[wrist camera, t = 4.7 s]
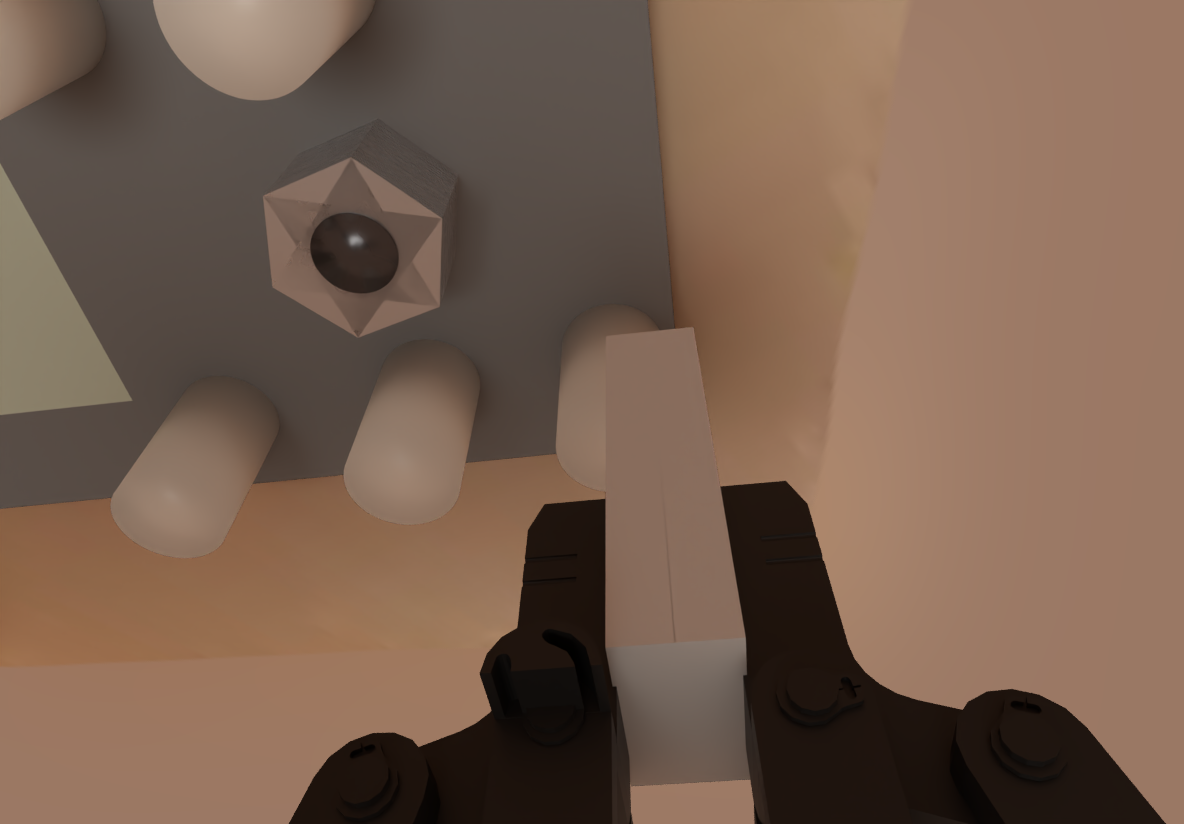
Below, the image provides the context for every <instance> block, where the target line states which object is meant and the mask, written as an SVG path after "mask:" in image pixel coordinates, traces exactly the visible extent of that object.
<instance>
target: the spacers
mask: <svg viewBox="0 0 1184 824" xmlns="http://www.w3.org/2000/svg"><path fill="white" fill-rule="evenodd" d="M375 1H376V0H153V4H154V9H155V13H156V17H157V20H158V23H159V25H160V28H161V30H162V32H163V34H164V37H165V39H166V40H167V42H168V44H169V45H170V47H171V49H172V50H173V51H174V53H175V54H176V55H177V57H178V58H179V59H180V61H181V62H182V63H183V64H184V65H185V66H186V67H187V68H188V69H189V70H190V71H191V72H192V73H193V74H194V75H196V76H197V77H198V78H199V79H201V80H202V81H203V82H205V83H206V84H208V85H209V86H211V87H213V88H215V89H216V90H218V91H221V92H223V93H225V94H227V95H230V96H233V97H237V98H241V99H246V100H257V101H260V100H270V99H275V98H279V97H282V96H284V95H287V94H289V93H291V92H292V91H294V90H296V89H297V88H298V87H299V86H301V85H302V84H303V83H304V82H305V81H306V80H307V79H308V78H309V77H310V76H311V75H312V74H314V73H315V72H316V71H317V70H318V69H319V68H320V67H321V66H322V65H323V64H324V63H325V62H326V61H327V60H328V59H329V58H330V57H331V56H332V55H333V54H334V53H335V52H336V51H337V50H338V49H339V48H341V47H342V46H343V45H344V44H345V43H346V42H347V41H348V40H349V39H350V38H351V37H352V36H353V35H354V34H355V33H356V32H357V31H358V30H359V29H360V28H361V27H362V26H363V25H364V24H365V22H366V21H367V19H368V18H369V16H370V14H371V12H372V10H373V7H374V4H375ZM105 43H106V28H105V21H104V17H103V13H102V11H101V8H100V5H99V3H98V1H97V0H0V120H1V119H3V118H5V117H7V116H9V115H11V114H13V113H15V112H16V111H18V110H20V109H22V108H24V107H26V106H28V105H30V104H31V103H33V102H35V101H37V100H39V99H41V98H43V97H44V96H46V95H48V94H50V93H52V92H54V91H56V90H58V89H59V88H61V87H63V86H65V85H67V84H69V83H71V82H73V81H74V80H76V79H78V78H80V77H82V76H84V75H85V74H87V73H89V72H90V71H91V70H92V69H93V68H94V67H95V66H96V65H97V64H98V62H99V61H100V59H101V57H102V55H103V52H104V49H105ZM649 331H659V329H658V327H657V325H656V324H655V323H654V321H653V320H652V319H651V318H650V317H649V316H647V315H646V314H645V313H643V312H641V311H640V310H638V309H636V308H633V307H630V306H626V305H621V304H605V305H600V306H596V307H593V308H591V309H588V310H586V311H585V312H583V313H581V314H580V315H579V316H577V317H576V318H575V319H574V320H573V321H572V322H571V324H570V325H569V326H568V328H567V330H566V332H565V334H564V337H563V341H562V354H561V370H560V386H559V401H558V417H557V433H556V454H557V457H558V460H559V462H560V465H561V466H562V468H563V469H564V471H565V472H566V473H567V474H568V475H569V476H570V477H571V478H572V479H574V480H575V481H577V482H578V483H580V484H582V485H584V486H586V487H588V488H591V489H594V490H598V491H604V492H606V336H611V335H621V334H630V333H640V332H649ZM479 392H480V378H479V374H478V371H477V369H476V367H475V365H474V364H473V362H472V361H471V360H470V359H469V358H468V356H466V355H465V354H464V353H463V352H462V351H460V350H459V349H457V348H456V347H454V346H452V345H450V344H447V343H444V342H441V341H437V340H428V339H422V340H414V341H410V342H406V343H404V344H402V345H400V346H398V347H397V348H395V349H394V350H393V351H392V352H391V353H390V354H389V355H388V356H387V358H386V360H385V361H384V364H383V366H382V369H381V372H380V374H379V377H378V379H377V382H376V385H375V387H374V390H373V393H372V395H371V398H370V401H369V403H368V406H367V409H366V411H365V414H364V416H363V419H362V422H361V424H360V427H359V430H358V432H357V435H356V438H355V440H354V443H353V446H352V448H351V451H350V453H349V456H348V459H347V461H346V464H345V467H344V483H345V486H346V489H347V491H348V493H349V495H350V496H351V498H352V499H353V500H354V501H355V503H356V504H357V505H358V506H359V507H361V508H362V509H363V510H364V511H366V512H367V513H369V514H371V515H372V516H374V517H376V518H379V519H381V520H384V521H387V522H391V523H395V524H402V525H417V524H424V523H428V522H431V521H434V520H437V519H438V518H440V517H442V516H444V515H445V514H446V513H448V512H449V511H450V510H451V509H452V508H453V506H454V505H455V503H456V501H457V500H458V497H459V493H460V488H461V483H462V478H463V473H464V468H465V463H466V458H467V453H468V448H469V443H470V437H471V432H472V427H473V422H474V417H475V412H476V407H477V402H478V397H479ZM279 426H280V424H279V416H278V413H277V410H276V409H275V407H274V405H273V404H272V402H271V401H270V400H269V398H268V397H267V396H266V395H265V394H264V393H263V392H261V391H260V390H259V389H257V388H256V387H254V386H252V385H251V384H249V383H247V382H245V381H242V380H239V379H236V378H232V377H226V376H210V377H205V378H202V379H199V380H197V381H195V382H194V383H192V384H191V385H190V386H189V387H188V388H187V389H186V390H185V392H184V393H183V395H182V396H181V398H180V399H179V400H178V402H177V403H176V405H175V406H174V408H173V409H172V410H171V412H170V413H169V415H168V416H167V418H166V419H165V421H164V422H163V423H162V425H161V426H160V428H159V429H158V431H157V432H156V433H155V435H154V436H153V438H152V439H151V441H150V442H149V443H148V445H147V446H146V448H145V449H144V451H143V452H142V454H141V455H140V456H139V458H138V459H137V461H136V462H135V464H134V465H133V466H132V468H131V469H130V471H129V472H128V474H127V475H126V476H125V478H124V479H123V481H122V482H121V484H120V485H119V486H118V488H117V489H116V491H115V492H114V494H113V496H112V498H111V513H112V516H113V519H114V521H115V522H116V524H117V526H118V527H119V528H120V530H121V531H122V532H123V533H124V534H125V535H126V536H127V537H128V538H130V539H131V540H132V541H134V542H135V543H137V544H138V545H140V546H142V547H143V548H145V549H147V550H150V551H152V552H155V553H157V554H161V555H164V556H169V557H175V558H196V557H201V556H205V555H207V554H210V553H211V552H213V551H215V550H216V549H217V548H219V547H220V545H221V544H222V543H223V541H224V540H225V538H226V536H227V534H228V532H229V530H230V528H231V526H232V524H233V522H234V520H235V518H236V516H237V514H238V512H239V510H240V508H241V506H242V504H243V502H244V500H245V498H246V496H247V494H248V492H249V490H250V488H251V486H252V484H253V482H254V480H255V478H256V476H257V474H258V472H259V470H260V468H261V466H262V464H263V462H264V460H265V458H266V456H267V454H268V452H269V450H270V448H271V446H272V444H273V442H274V440H275V438H276V436H277V434H278V431H279Z"/></svg>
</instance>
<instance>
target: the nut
mask: <svg viewBox="0 0 1184 824" xmlns="http://www.w3.org/2000/svg"><path fill="white" fill-rule="evenodd" d="M457 194H458V174H457V173H455V172H454V171H452V170H451V169H450V168H448V167H447V166H445V165H444V164H442V163H441V162H440V161H438V160H437V159H435V158H434V157H432V156H431V155H430V154H428V153H427V152H425V151H424V150H423V149H421V148H420V147H418V146H417V145H415V144H414V143H413V142H411V141H410V140H408V139H407V138H405V137H404V136H403V135H401V134H400V133H398V132H397V131H395V130H394V129H393V128H391V127H390V126H388V125H387V124H385V123H384V122H383V121H381V120H380V119H376V120H373V121H371V122H369V123H367V124H364V125H362V126H360V127H358V128H355V129H353V130H351V131H349V132H346V133H344V134H342V135H340V136H337V137H335V138H333V139H331V140H328V141H326V142H324V143H322V144H319V145H317V146H315V147H313V148H310V149H308V150H306V151H304V152H301V153H299V154H298V155H297V156H296V157H295V159H294V160H293V161H292V162H291V163H290V164H289V166H288V167H287V168H286V169H285V170H284V172H283V173H282V174H281V175H280V176H279V177H278V179H277V180H276V181H275V182H274V183H273V185H272V186H271V187H270V188H269V189H268V191H267V192H266V193H265V194H264V195H263V201H264V211H265V220H266V230H267V240H268V249H269V259H270V269H271V278H272V287H273V288H275V289H276V290H278V291H280V292H281V293H283V294H285V295H287V296H288V297H290V298H292V299H293V300H295V301H297V302H298V303H300V304H302V305H304V306H305V307H307V308H309V309H310V310H312V311H314V312H315V313H317V314H319V315H320V316H322V317H324V318H326V319H327V320H329V321H331V322H332V323H334V324H336V325H337V326H339V327H341V328H343V329H344V330H346V331H348V332H349V333H351V334H353V335H354V336H356V337H358V338H359V337H361V336H364V335H367V334H369V333H372V332H374V331H377V330H380V329H382V328H385V327H388V326H390V325H393V324H396V323H398V322H401V321H404V320H406V319H409V318H411V317H414V316H417V315H419V314H422V313H425V312H427V311H430V310H433V309H435V308H438V307H440V304H441V300H442V297H443V294H444V291H445V288H446V284H447V281H448V278H449V275H450V271H451V268H452V265H453V262H454V259H455V245H456V219H457Z"/></svg>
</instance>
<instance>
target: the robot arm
mask: <svg viewBox="0 0 1184 824" xmlns="http://www.w3.org/2000/svg"><path fill="white" fill-rule="evenodd" d="M480 676H481V679H482V682H483V685H484V688H485V691H486V694H487V698H488V700H489V703H490V707H491V710H492V711H491V712H490V713H489V714H488V715H487V716H485V717H484V718H482V719H481V720H480V721H479V722H477V723H476V724H474V725H472V726H470V727H468V728H466V729H464V730H462V731H460V732H457V733H455V734H452V735H449V736H447V737H444V738H441V739H439V740H436V741H434V742H431V743H428V744H426V745H423V746H421V747H418V746H417V745H416V744H415V743H414V741H413V740H411V739H409V738H406V737H404V736H401V735H399V734H396V733H372V734H369V735H366V736H363V737H361V738H358V739H355V740H353V741H350V742H349V743H348V744H346V745H345V746H343V747H342V748H341V749H340V750H338V751H337V752H335V753H334V754H333V755H331V756H330V757H329V758H328V759H327V761H326V762H325V763H324V765H323V766H322V768H321V769H320V770H319V772H318V773H317V774H316V775H315V777H314V778H313V780H312V782H311V784H310V786H309V787H308V790H307V791H306V793H305V795H304V797H303V798H302V800H301V802H300V804H299V806H298V808H297V810H296V811H295V813H294V815H293V817H292V819H291V821H290V822H289V824H633V821H632V815H631V800H630V782H631V786H645V785H662V784H679V783H697V782H713V781H714V782H715V781H730V780H731V781H732V780H749V779H750V780H751V786H752V793H753V799H754V818H755V819H754V820H755V824H1166V823H1165V822H1164V821H1163V820H1162V819H1161V817H1160V816H1159V815H1158V814H1157V812H1156V811H1155V810H1154V809H1153V808H1152V806H1151V805H1150V804H1149V803H1148V801H1147V800H1146V799H1145V798H1144V797H1143V796H1142V794H1141V793H1140V792H1139V791H1138V789H1137V788H1136V787H1135V786H1134V784H1133V783H1132V782H1131V781H1130V780H1129V778H1128V777H1127V776H1126V775H1125V773H1124V772H1123V771H1122V770H1121V769H1120V767H1119V766H1118V765H1117V764H1116V762H1115V761H1114V760H1113V759H1112V758H1111V756H1110V755H1109V754H1108V753H1107V752H1106V750H1105V749H1104V748H1103V747H1102V745H1101V744H1100V743H1099V742H1098V741H1097V739H1096V738H1095V737H1094V736H1093V734H1091V732H1090V731H1089V730H1088V728H1087V727H1086V726H1085V725H1083V724H1082V723H1081V722H1080V721H1079V720H1078V719H1077V718H1076V717H1075V716H1073V715H1072V714H1071V713H1070V712H1069V711H1068V710H1067V709H1066V708H1064V707H1062V706H1060V705H1058V704H1056V703H1054V702H1052V701H1050V700H1048V699H1046V698H1044V697H1042V696H1040V695H1037V694H1033V693H1028V692H1023V691H1018V690H1014V689H1008V690H998V691H988V692H985V693H984V694H982V695H980V696H978V697H976V698H975V699H973V700H971V701H969V702H968V703H967V704H966V706H965V707H964V709H963V710H960V709H956V708H951V707H947V706H942V705H938V704H933V703H928V702H923V701H919V700H915V699H912V698H909V697H906V696H903V695H900V694H897V693H895V692H893V691H891V690H890V689H887V688H886V687H884V686H882V685H880V684H879V683H878V682H876V681H875V680H874V679H873V678H871V677H870V676H869V675H868V674H867V673H865V671H864V670H863V669H862V668H861V666H860V665H859V664H858V663H857V661H856V660H855V659H854V657H853V654H852V652H851V650H850V648H849V645H848V642H847V639H846V635H845V633H844V629H843V625H842V622H841V618H840V615H839V611H838V608H837V605H836V601H835V598H834V594H833V591H832V587H831V584H830V580H829V577H828V573H827V570H826V566H825V563H824V561H823V559H822V553H821V549H820V546H819V542H818V539H817V537H816V532H815V528H814V525H813V522H812V518H811V515H810V511H809V508H808V504H807V503H806V502H805V501H804V500H803V499H802V498H801V497H800V496H799V494H798V493H797V492H796V491H795V490H794V489H793V488H792V487H791V486H790V485H789V484H788V483H787V482H786V481H779V482H768V483H757V484H745V485H734V486H723V487H720V482H719V476H718V470H717V464H716V458H715V452H714V446H713V440H712V434H711V428H710V422H709V416H708V411H707V405H706V399H705V393H704V387H703V381H702V375H701V369H700V363H699V357H698V351H697V345H696V339H695V333H694V327H687V328H678V329H668V330H659V331H649V332H640V333H630V334H621V335H611V336H606V499H599V500H588V501H577V502H565V503H554V504H545V505H544V506H543V508H542V509H541V511H540V512H539V514H538V515H537V517H536V519H535V520H534V522H533V523H532V525H531V526H530V528H529V529H528V536H527V545H526V554H525V564H524V572H523V587H522V591H521V600H520V609H519V618H518V627H517V629H515V630H513V631H511V632H510V633H508V634H506V635H505V636H503V637H501V639H500V640H499V641H498V642H497V643H496V644H495V645H494V646H493V648H492V649H491V650H490V651H489V652H488V653H487V655H486V658H485V660H484V663H483V666H482V669H481V671H480Z"/></svg>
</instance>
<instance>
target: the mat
mask: <svg viewBox="0 0 1184 824" xmlns="http://www.w3.org/2000/svg"><path fill="white" fill-rule="evenodd" d="M97 1H98V3H99V5H100V8H101V11H102V13H103V17H104V21H105V28H106V43H105V49H104V52H103V55H102V57H101V59H100V61H99V62H98V64H97V65H96V66H95V67H94V68H93V69H92V70H91V71H90V72H89V73H87V74H85V75H84V76H82V77H80V78H78V79H76V80H74V81H73V82H71V83H69V84H67V85H65V86H63V87H61V88H59V89H58V90H56V91H54V92H52V93H50V94H48V95H46V96H44V97H43V98H41V99H39V100H37V101H35V102H33V103H31V104H30V105H28V106H26V107H24V108H22V109H20V110H18V111H16V112H15V113H13V114H11V115H9V116H7V117H5V118H3V119H1V120H0V509H3V508H13V507H23V506H33V505H43V504H53V503H64V502H74V501H84V500H94V499H104V498H112V496H113V494H114V492H115V491H116V489H117V488H118V486H119V485H120V484H121V482H122V481H123V479H124V478H125V476H126V475H127V474H128V472H129V471H130V469H131V468H132V466H133V465H134V464H135V462H136V461H137V459H138V458H139V456H140V455H141V454H142V452H143V451H144V449H145V448H146V446H147V445H148V443H149V442H150V441H151V439H152V438H153V436H154V435H155V433H156V432H157V431H158V429H159V428H160V426H161V425H162V423H163V422H164V421H165V419H166V418H167V416H168V415H169V413H170V412H171V410H172V409H173V408H174V406H175V405H176V403H177V402H178V400H179V399H180V398H181V396H182V395H183V393H184V392H185V390H186V389H187V388H188V387H189V386H190V385H191V384H192V383H194V382H195V381H197V380H199V379H202V378H205V377H210V376H226V377H232V378H236V379H239V380H242V381H245V382H247V383H249V384H251V385H252V386H254V387H256V388H257V389H259V390H260V391H261V392H263V393H264V394H265V395H266V396H267V397H268V398H269V400H270V401H271V402H272V404H273V405H274V407H275V409H276V410H277V413H278V416H279V424H280V426H279V431H278V434H277V436H276V438H275V440H274V442H273V444H272V446H271V448H270V450H269V452H268V454H267V456H266V458H265V460H264V462H263V464H262V466H261V468H260V470H259V472H258V474H257V476H256V478H255V480H254V482H253V484H256V483H266V482H276V481H286V480H296V479H306V478H317V477H327V476H337V475H344V467H345V464H346V461H347V459H348V456H349V453H350V451H351V448H352V446H353V443H354V440H355V438H356V435H357V432H358V430H359V427H360V424H361V422H362V419H363V416H364V414H365V411H366V409H367V406H368V403H369V401H370V398H371V395H372V393H373V390H374V387H375V385H376V382H377V379H378V377H379V374H380V372H381V369H382V366H383V364H384V361H385V360H386V358H387V356H388V355H389V354H390V353H391V352H392V351H393V350H394V349H395V348H397V347H398V346H400V345H402V344H404V343H406V342H410V341H414V340H422V339H428V340H437V341H441V342H444V343H447V344H450V345H452V346H454V347H456V348H457V349H459V350H460V351H462V352H463V353H464V354H465V355H466V356H468V358H469V359H470V360H471V361H472V362H473V364H474V365H475V367H476V369H477V371H478V374H479V378H480V392H479V397H478V402H477V407H476V412H475V417H474V422H473V427H472V432H471V437H470V443H469V448H468V453H467V458H466V463H468V462H479V461H489V460H499V459H509V458H519V457H529V456H539V455H549V454H556V433H557V417H558V401H559V386H560V370H561V354H562V341H563V337H564V334H565V332H566V330H567V328H568V326H569V325H570V324H571V322H572V321H573V320H574V319H575V318H576V317H577V316H579V315H580V314H581V313H583V312H585V311H586V310H588V309H591V308H593V307H596V306H600V305H605V304H621V305H626V306H630V307H633V308H636V309H638V310H640V311H641V312H643V313H645V314H646V315H647V316H649V317H650V318H651V319H652V320H653V321H654V323H655V324H656V325H657V327H658V329H659V330H668V329H675V326H674V314H673V302H672V290H671V278H670V266H669V254H668V241H667V229H666V217H665V205H664V193H663V181H662V169H661V157H660V145H659V133H658V121H657V108H656V96H655V84H654V72H653V60H652V48H651V36H650V24H649V12H648V0H376V1H375V4H374V7H373V10H372V12H371V14H370V16H369V18H368V19H367V21H366V22H365V24H364V25H363V26H362V27H361V28H360V29H359V30H358V31H357V32H356V33H355V34H354V35H353V36H352V37H351V38H350V39H349V40H348V41H347V42H346V43H345V44H344V45H343V46H342V47H341V48H339V49H338V50H337V51H336V52H335V53H334V54H333V55H332V56H331V57H330V58H329V59H328V60H327V61H326V62H325V63H324V64H323V65H322V66H321V67H320V68H319V69H318V70H317V71H316V72H315V73H314V74H312V75H311V76H310V77H309V78H308V79H307V80H306V81H305V82H304V83H303V84H302V85H301V86H299V87H298V88H297V89H296V90H294V91H292V92H291V93H289V94H287V95H284V96H282V97H279V98H275V99H270V100H260V101H257V100H246V99H241V98H237V97H233V96H230V95H227V94H225V93H223V92H221V91H218V90H216V89H215V88H213V87H211V86H209V85H208V84H206V83H205V82H203V81H202V80H201V79H199V78H198V77H197V76H196V75H194V74H193V73H192V72H191V71H190V70H189V69H188V68H187V67H186V66H185V65H184V64H183V63H182V62H181V61H180V59H179V58H178V57H177V55H176V54H175V53H174V51H173V50H172V49H171V47H170V45H169V44H168V42H167V40H166V39H165V37H164V34H163V32H162V30H161V28H160V25H159V23H158V20H157V17H156V13H155V9H154V4H153V0H97ZM376 119H380V120H381V121H383V122H384V123H385V124H387V125H388V126H390V127H391V128H393V129H394V130H395V131H397V132H398V133H400V134H401V135H403V136H404V137H405V138H407V139H408V140H410V141H411V142H413V143H414V144H415V145H417V146H418V147H420V148H421V149H423V150H424V151H425V152H427V153H428V154H430V155H431V156H432V157H434V158H435V159H437V160H438V161H440V162H441V163H442V164H444V165H445V166H447V167H448V168H450V169H451V170H452V171H454V172H455V173H457V174H458V194H457V219H456V245H455V259H454V262H453V265H452V268H451V271H450V275H449V278H448V281H447V284H446V288H445V291H444V294H443V297H442V300H441V304H440V307H438V308H435V309H433V310H430V311H427V312H425V313H422V314H419V315H417V316H414V317H411V318H409V319H406V320H404V321H401V322H398V323H396V324H393V325H390V326H388V327H385V328H382V329H380V330H377V331H374V332H372V333H369V334H367V335H364V336H361V337H359V338H358V337H356V336H354V335H353V334H351V333H349V332H348V331H346V330H344V329H343V328H341V327H339V326H337V325H336V324H334V323H332V322H331V321H329V320H327V319H326V318H324V317H322V316H320V315H319V314H317V313H315V312H314V311H312V310H310V309H309V308H307V307H305V306H304V305H302V304H300V303H298V302H297V301H295V300H293V299H292V298H290V297H288V296H287V295H285V294H283V293H281V292H280V291H278V290H276V289H275V288H273V287H272V278H271V269H270V259H269V249H268V240H267V230H266V220H265V211H264V201H263V195H264V194H265V193H266V192H267V191H268V189H269V188H270V187H271V186H272V185H273V183H274V182H275V181H276V180H277V179H278V177H279V176H280V175H281V174H282V173H283V172H284V170H285V169H286V168H287V167H288V166H289V164H290V163H291V162H292V161H293V160H294V159H295V157H296V156H297V155H298V154H299V153H301V152H304V151H306V150H308V149H310V148H313V147H315V146H317V145H319V144H322V143H324V142H326V141H328V140H331V139H333V138H335V137H337V136H340V135H342V134H344V133H346V132H349V131H351V130H353V129H355V128H358V127H360V126H362V125H364V124H367V123H369V122H371V121H373V120H376Z"/></svg>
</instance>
